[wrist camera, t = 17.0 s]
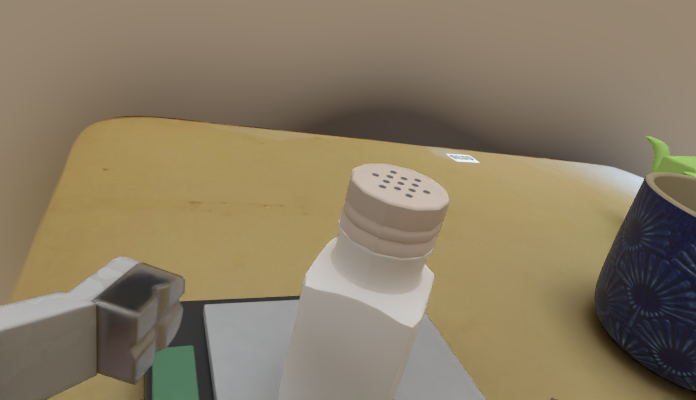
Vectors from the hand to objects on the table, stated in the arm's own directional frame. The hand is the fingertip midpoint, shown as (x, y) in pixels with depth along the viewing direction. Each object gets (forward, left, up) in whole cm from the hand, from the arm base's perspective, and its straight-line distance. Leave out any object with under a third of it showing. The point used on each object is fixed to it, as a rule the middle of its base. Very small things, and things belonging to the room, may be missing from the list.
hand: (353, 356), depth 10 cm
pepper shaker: (+3, +5, -8) cm, 10 cm away
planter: (+30, +8, -11) cm, 33 cm away
